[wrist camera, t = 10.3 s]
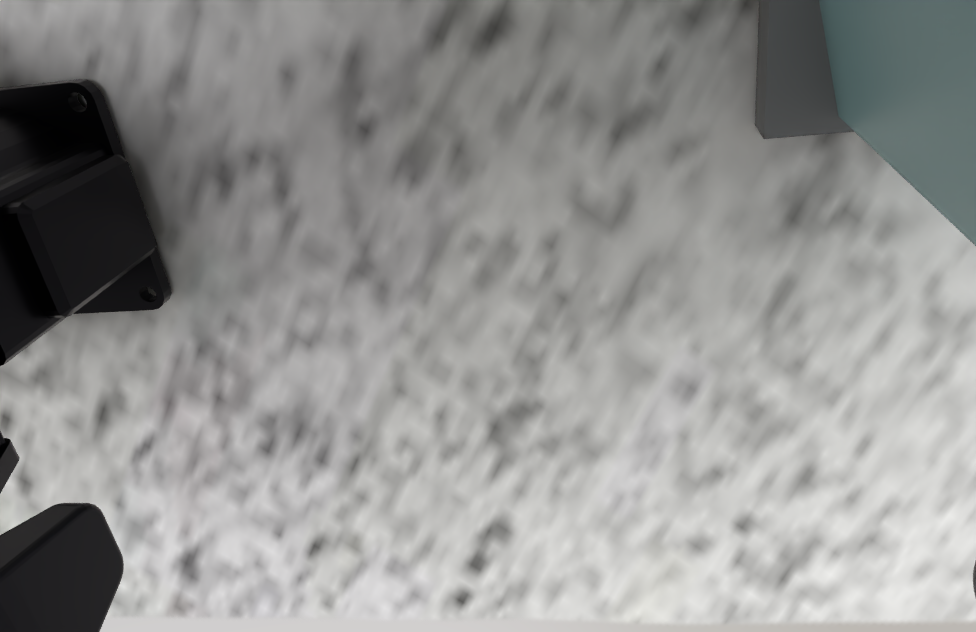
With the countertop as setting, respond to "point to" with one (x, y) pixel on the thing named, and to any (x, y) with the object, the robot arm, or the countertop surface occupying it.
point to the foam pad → (794, 72)
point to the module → (911, 92)
